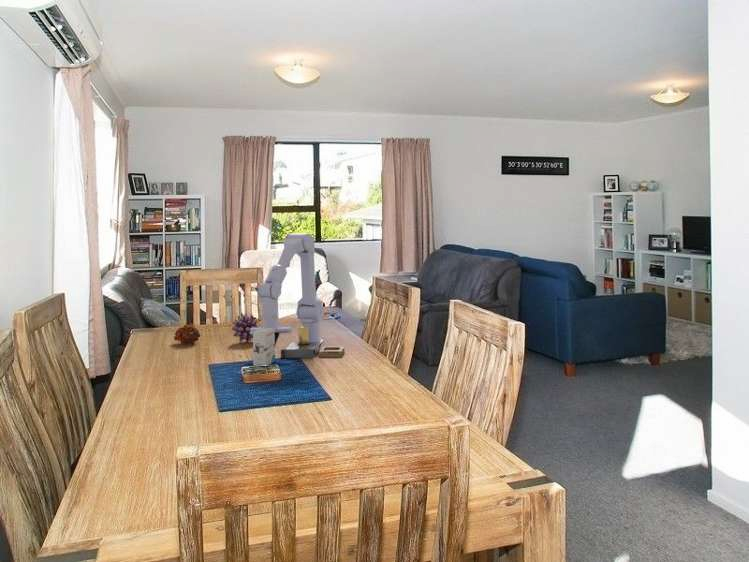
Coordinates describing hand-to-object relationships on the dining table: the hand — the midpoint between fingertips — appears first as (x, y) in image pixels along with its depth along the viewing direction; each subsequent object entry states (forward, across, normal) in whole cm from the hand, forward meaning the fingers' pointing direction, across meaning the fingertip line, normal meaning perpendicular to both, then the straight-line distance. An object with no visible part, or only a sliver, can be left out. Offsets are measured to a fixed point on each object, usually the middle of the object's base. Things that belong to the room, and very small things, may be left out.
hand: (271, 353), depth 223 cm
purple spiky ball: (+1, -17, +27) cm, 32 cm away
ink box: (+1, 0, -11) cm, 11 cm away
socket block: (+1, +10, +4) cm, 11 cm away
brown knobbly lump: (+1, -41, +25) cm, 48 cm away
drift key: (+1, +8, 0) cm, 8 cm away
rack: (+1, +21, +3) cm, 21 cm away
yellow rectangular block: (+1, +10, +7) cm, 12 cm away
